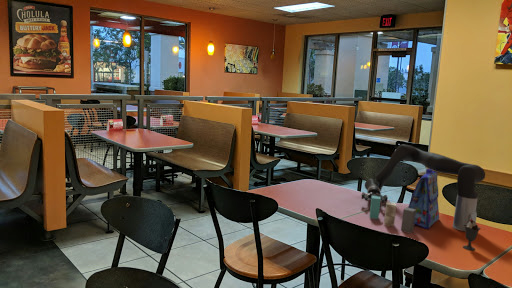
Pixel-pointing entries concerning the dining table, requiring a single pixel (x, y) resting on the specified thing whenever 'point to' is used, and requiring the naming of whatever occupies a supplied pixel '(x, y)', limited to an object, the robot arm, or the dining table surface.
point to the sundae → (471, 233)
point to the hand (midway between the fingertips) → (374, 200)
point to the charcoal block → (408, 220)
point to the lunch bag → (426, 200)
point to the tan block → (390, 214)
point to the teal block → (375, 207)
